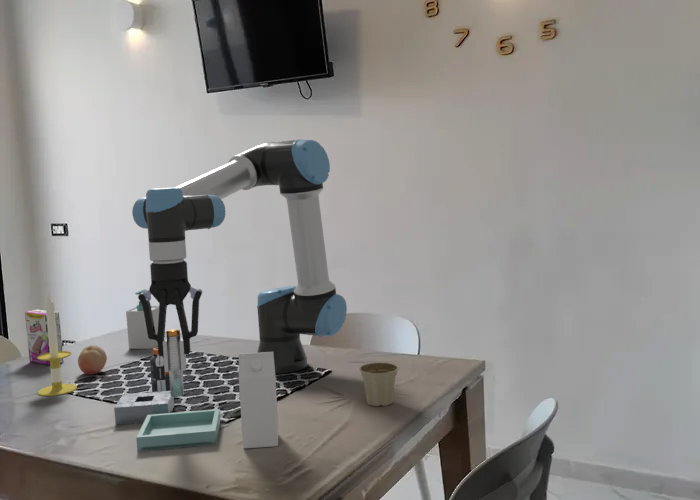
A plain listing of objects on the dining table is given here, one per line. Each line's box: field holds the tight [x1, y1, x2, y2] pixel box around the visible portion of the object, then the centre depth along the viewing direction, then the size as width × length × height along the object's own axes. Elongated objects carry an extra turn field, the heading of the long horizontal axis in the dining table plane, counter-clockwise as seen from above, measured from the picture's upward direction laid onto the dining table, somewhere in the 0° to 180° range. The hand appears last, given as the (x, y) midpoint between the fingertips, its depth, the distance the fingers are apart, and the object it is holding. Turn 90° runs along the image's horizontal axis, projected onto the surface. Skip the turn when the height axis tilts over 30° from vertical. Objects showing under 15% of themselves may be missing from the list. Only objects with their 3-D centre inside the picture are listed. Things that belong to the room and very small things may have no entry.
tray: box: [136, 408, 221, 452], centre depth 152 cm, size 16×14×3 cm
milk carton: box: [238, 352, 280, 449], centre depth 146 cm, size 7×7×19 cm
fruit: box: [77, 345, 108, 376], centre depth 206 cm, size 8×8×8 cm
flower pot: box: [358, 362, 400, 407], centre depth 168 cm, size 9×9×9 cm
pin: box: [165, 329, 185, 398], centre depth 151 cm, size 3×3×14 cm
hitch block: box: [113, 391, 175, 426], centre depth 167 cm, size 12×10×4 cm
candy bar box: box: [24, 309, 64, 367], centre depth 221 cm, size 11×5×16 cm, turn 58°
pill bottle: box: [149, 346, 170, 392], centre depth 187 cm, size 6×6×11 cm
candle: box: [37, 292, 78, 397], centre depth 189 cm, size 10×10×27 cm
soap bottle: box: [125, 289, 159, 350], centre depth 237 cm, size 9×9×19 cm
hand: (175, 369), depth 151 cm, fingers closed on pin, 3 cm apart
